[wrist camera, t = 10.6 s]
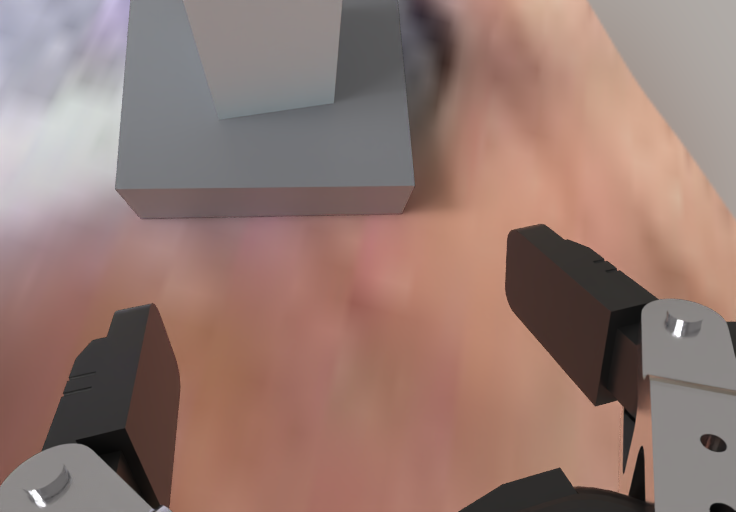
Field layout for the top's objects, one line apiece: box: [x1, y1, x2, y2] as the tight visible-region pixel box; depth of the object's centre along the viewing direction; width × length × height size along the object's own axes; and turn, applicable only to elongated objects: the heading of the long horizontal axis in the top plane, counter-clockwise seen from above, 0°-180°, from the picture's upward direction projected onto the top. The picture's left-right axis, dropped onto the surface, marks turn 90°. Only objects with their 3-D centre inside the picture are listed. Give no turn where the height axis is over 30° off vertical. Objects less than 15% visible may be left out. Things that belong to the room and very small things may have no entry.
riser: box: [115, 0, 415, 219], centre depth 23 cm, size 11×11×3 cm
